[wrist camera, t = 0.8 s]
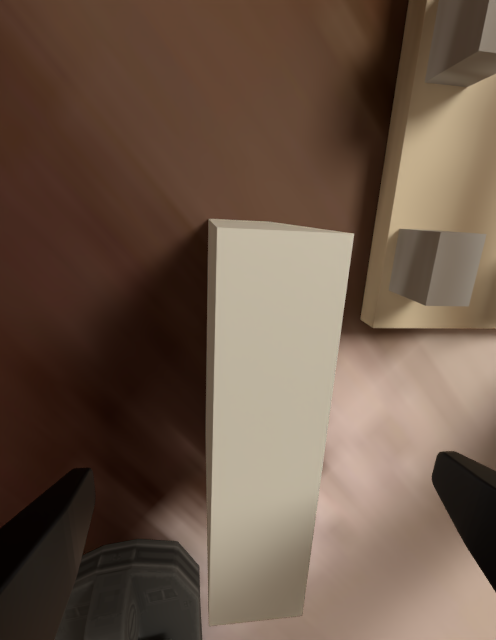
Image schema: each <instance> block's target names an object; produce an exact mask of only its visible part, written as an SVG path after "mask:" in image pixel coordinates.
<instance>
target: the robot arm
mask: <svg viewBox="0 0 496 640" xmlns="http://www.w3.org/2000/svg"><path fill="white" fill-rule="evenodd" d="M432 482H433V485H434V488H435V489H436V491H437V493H438V495H439V497H440V499H441V501H442V503H443V504H444V506H445V508H446V510H447V512H448V514H449V516H450V518H451V519H452V521H453V523H454V525H455V527H456V529H457V531H458V533H459V534H460V536H461V538H462V540H463V541H464V543H465V545H466V546H467V548H468V550H469V551H470V553H471V555H472V556H473V558H474V559H475V561H476V562H477V564H478V565H479V567H480V569H481V570H482V572H483V573H484V575H485V576H486V578H487V579H488V581H489V583H490V584H491V586H492V587H493V589H494V590H495V592H496V471H494V470H492V469H490V468H488V467H486V466H484V465H482V464H480V463H478V462H476V461H474V460H472V459H470V458H468V457H466V456H464V455H461V454H459V453H457V452H454V451H444V452H440V453H439V454H438V455H437V457H436V461H435V465H434V469H433V473H432ZM94 505H95V486H94V477H93V471H92V469H91V468H75V469H72V470H71V471H69V472H68V473H67V474H66V475H65V476H63V477H62V478H61V479H60V480H59V481H57V482H56V483H55V484H54V485H52V486H51V487H50V488H49V489H48V490H46V491H45V492H44V493H43V494H42V495H40V496H39V497H38V498H37V499H35V500H34V501H33V502H32V503H31V504H29V505H28V506H27V507H26V508H25V509H23V510H22V511H21V512H20V513H18V514H17V515H16V516H15V517H14V518H12V519H11V520H10V521H9V522H7V523H6V524H5V525H4V526H3V527H1V528H0V640H54V639H55V636H56V634H57V631H58V628H59V625H60V622H61V620H62V617H63V614H64V611H65V608H66V606H67V603H68V600H69V597H70V594H71V592H72V589H73V586H74V583H75V580H76V577H77V573H78V570H79V566H80V562H81V558H82V554H83V550H84V546H85V542H86V538H87V534H88V530H89V526H90V522H91V518H92V514H93V510H94Z"/></svg>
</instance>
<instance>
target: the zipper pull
mask: <svg viewBox="0 0 496 640" xmlns="http://www.w3.org/2000/svg"><path fill="white" fill-rule="evenodd" d="M55 640H202V626H201V607H200V575H199V565H198V564H197V563H196V562H195V561H194V559H193V558H192V557H191V556H190V555H189V554H188V553H187V552H186V550H185V549H184V548H183V547H182V546H181V545H180V544H179V543H178V542H177V541H164V540H147V539H135V540H130V541H124V542H119V543H114V544H108V545H104V546H102V547H100V548H97V549H95V550H93V551H91V552H89V553H87V554H85V555H83V556H82V558H81V562H80V566H79V570H78V573H77V577H76V580H75V583H74V586H73V589H72V592H71V594H70V597H69V600H68V603H67V606H66V608H65V611H64V614H63V617H62V620H61V622H60V625H59V628H58V631H57V634H56V636H55Z"/></svg>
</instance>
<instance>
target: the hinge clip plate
mask: <svg viewBox="0 0 496 640" xmlns="http://www.w3.org/2000/svg"><path fill="white" fill-rule="evenodd" d="M360 320H362V321H363V322H365V323H366V324H368V325H369V326H371V327H372V328H458V329H496V0H409V3H408V9H407V16H406V22H405V29H404V36H403V42H402V49H401V55H400V62H399V68H398V75H397V82H396V88H395V95H394V101H393V108H392V114H391V121H390V128H389V134H388V141H387V147H386V154H385V160H384V167H383V174H382V180H381V187H380V193H379V200H378V206H377V213H376V220H375V226H374V233H373V239H372V246H371V252H370V259H369V265H368V272H367V279H366V285H365V292H364V298H363V305H362V311H361V318H360Z"/></svg>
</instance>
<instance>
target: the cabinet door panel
mask: <svg viewBox="0 0 496 640" xmlns="http://www.w3.org/2000/svg"><path fill="white" fill-rule="evenodd" d="M353 239H354V234H353V233H346V232H339V231H331V230H324V229H317V228H310V227H303V226H296V225H289V224H282V223H275V222H265V221H244V220H223V219H208V287H207V360H206V490H207V550H208V610H209V626H217V625H226V624H235V623H243V622H252V621H261V620H270V619H279V618H287V617H296V616H302V614H303V606H304V599H305V592H306V584H307V577H308V570H309V562H310V555H311V548H312V540H313V533H314V526H315V518H316V511H317V503H318V496H319V489H320V481H321V474H322V467H323V459H324V452H325V445H326V437H327V430H328V423H329V415H330V408H331V401H332V393H333V386H334V378H335V371H336V364H337V356H338V349H339V342H340V334H341V327H342V320H343V312H344V305H345V298H346V290H347V283H348V276H349V268H350V261H351V254H352V246H353Z"/></svg>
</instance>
